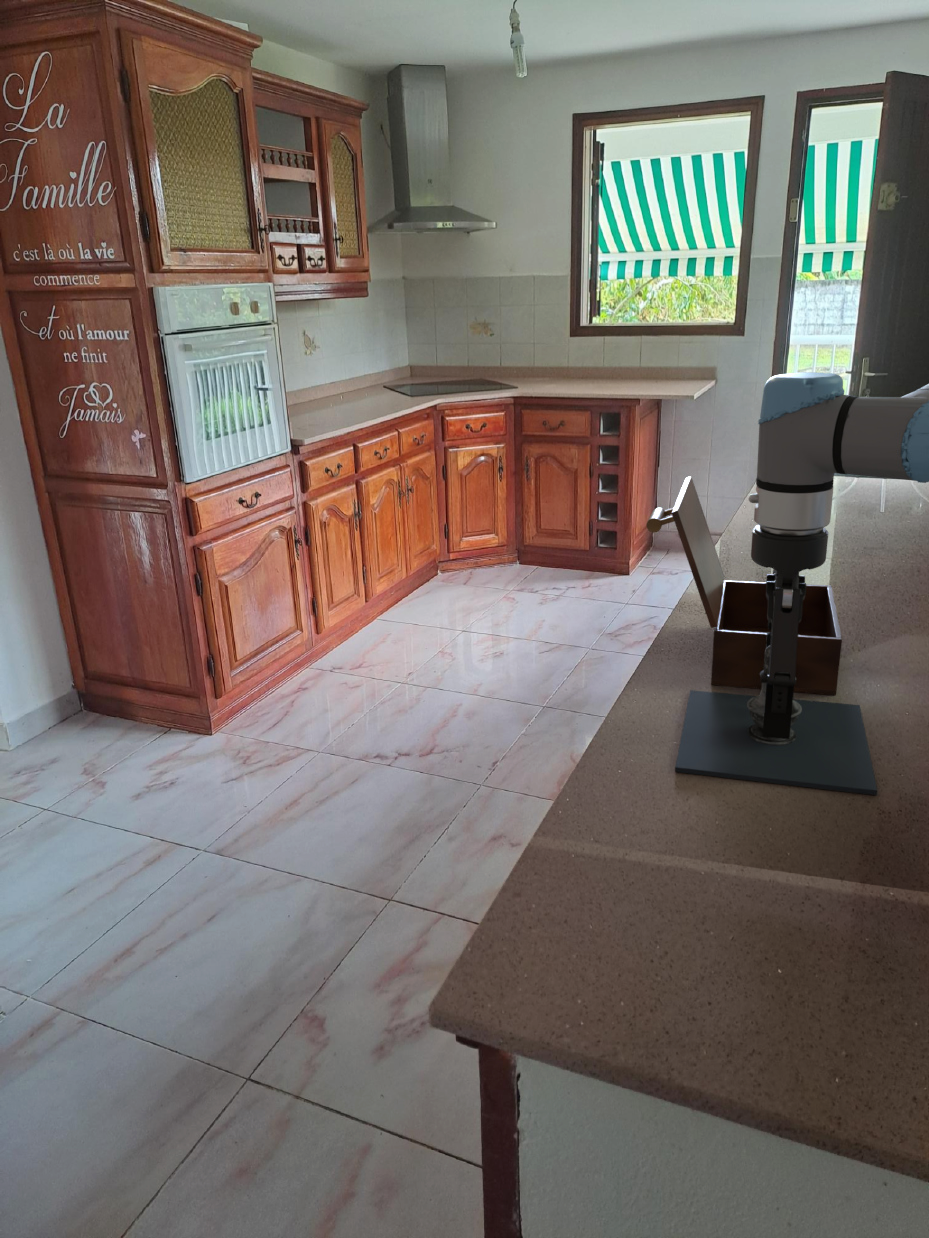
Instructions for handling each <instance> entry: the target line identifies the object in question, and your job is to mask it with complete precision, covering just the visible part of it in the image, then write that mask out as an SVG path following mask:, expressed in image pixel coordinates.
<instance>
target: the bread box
mask: <svg viewBox="0 0 929 1238" xmlns="http://www.w3.org/2000/svg"><path fill="white" fill-rule="evenodd" d="M767 611H768V601H767V597H766V581H747V580H746V581H745V580H725V579H724V584H723V591H722V597H721V604H720V610H719V617H718V624H717V627H714V628H713V640H712V659H711V660H712V661H711V674H710V675H711V677H710V685H711V686H720V687H731V688H732V687H734V688H747V689H756V690H758V689H759V690H761V689H762V683H761V677H760V672H761V671H763V670H764V659H765V650H766V641H767V632H771V630H769V628H768V627H767V625H768V620H767ZM837 611H838V610H837V607H836V602H835V596H834V592H833V586H832V585H824V584H807V583H806V594H805V598H804V600H803V608H802V618H801V622H800V623H799V624H798V640H797V656H796V672H795V677H796V683H795V686H794V693H802V694H814V695H815V694H816V695H828V696H837V690H838V680H839V671H840V663H841V653H842V644H843V637H842V632H841V628H840V622H839V617H838V612H837Z"/></svg>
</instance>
